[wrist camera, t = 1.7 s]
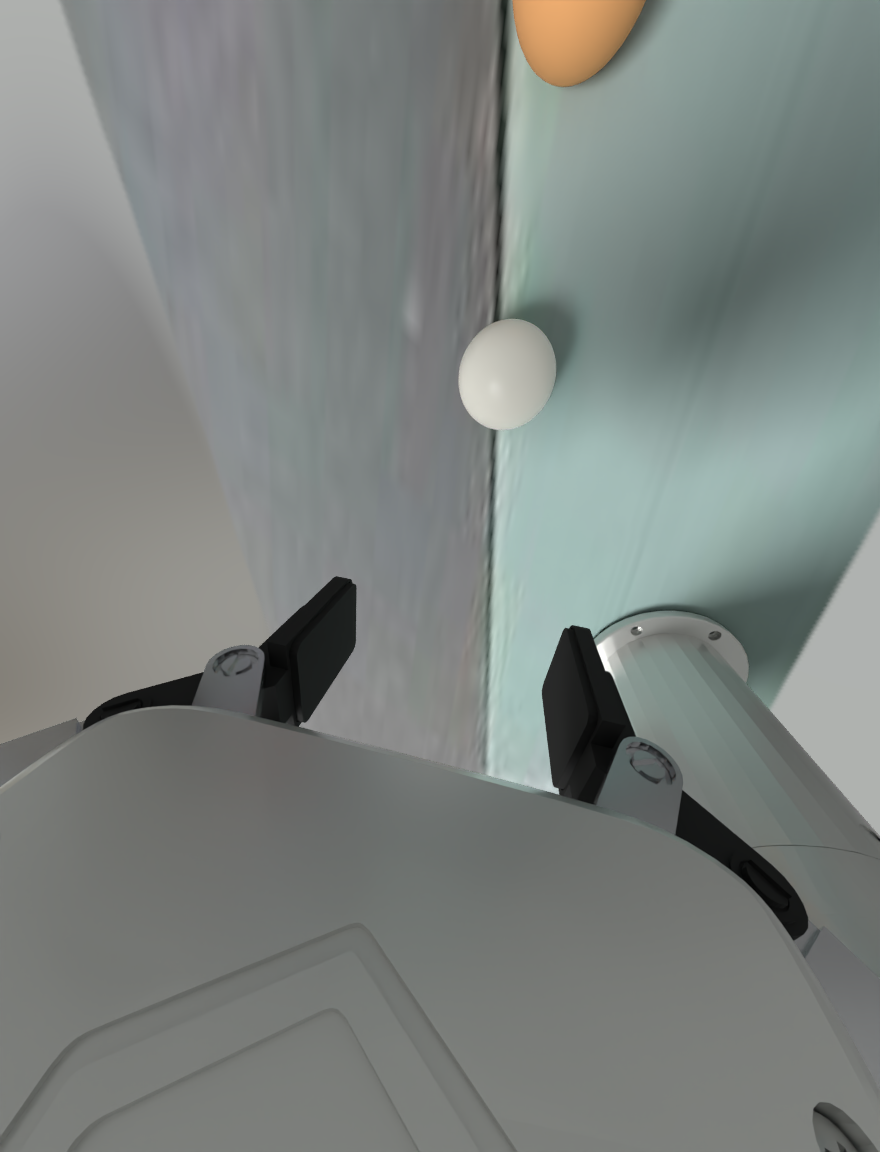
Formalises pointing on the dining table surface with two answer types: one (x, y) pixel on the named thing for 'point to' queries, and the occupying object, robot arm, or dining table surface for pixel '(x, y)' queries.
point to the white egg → (507, 374)
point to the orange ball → (572, 35)
